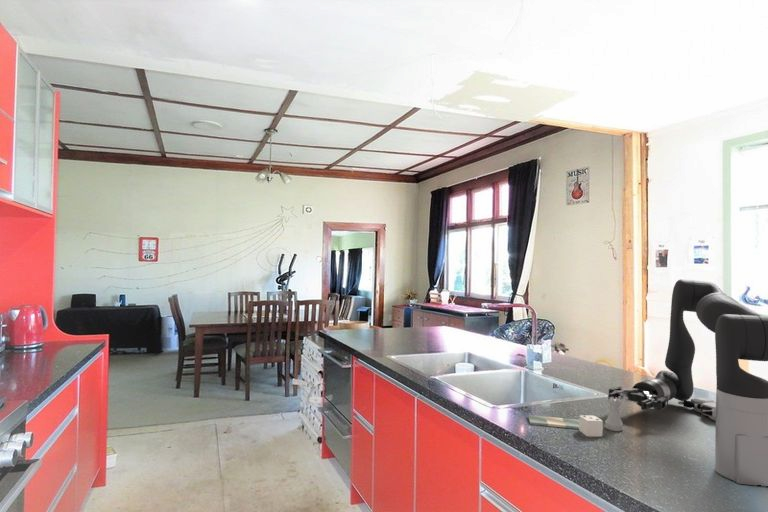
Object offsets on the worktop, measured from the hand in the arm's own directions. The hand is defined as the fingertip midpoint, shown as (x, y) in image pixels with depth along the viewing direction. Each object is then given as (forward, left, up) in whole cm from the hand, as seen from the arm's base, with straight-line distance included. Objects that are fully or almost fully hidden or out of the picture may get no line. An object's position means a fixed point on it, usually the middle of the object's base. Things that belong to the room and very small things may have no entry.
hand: (626, 401), depth 126 cm
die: (-11, +11, -6) cm, 17 cm away
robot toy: (+16, -28, -6) cm, 33 cm away
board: (-5, +17, -6) cm, 19 cm away
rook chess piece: (-5, +4, -6) cm, 9 cm away
